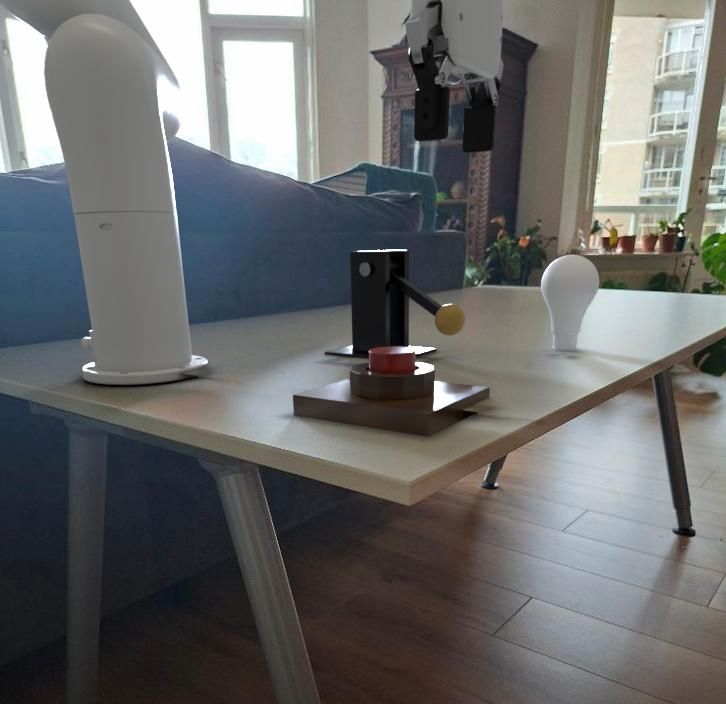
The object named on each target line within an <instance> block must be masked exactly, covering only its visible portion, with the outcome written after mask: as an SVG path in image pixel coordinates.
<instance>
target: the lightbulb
mask: <svg viewBox="0 0 726 704" xmlns="http://www.w3.org/2000/svg"><path fill="white" fill-rule="evenodd" d="M540 281H541V282H540V290H541V294H542V297H543V300H544V302H545V304H546V307H547V309H548V312H549V316H550V324H551V327H550V328H551V329H550V330H551V333H552V350H554V351H564V352H565V351H566V352H567V351H568V352H569V351H575V350H576V349H577V345H578V344H577V343H578V337H579V334H580V333H581V331H582V330H581V329H582V323H583V321H584V317H585V315H586V313H587V310H588V308H589V307H590V306H591V304H592V303H593V301H594V299H595V297H596V295H597V294H598V291H599V287H600V275H599V272H598V269H597V267H596V266H595V264H594V263H593V262H592V261H591V260H590V259H588V258H586V257H584V256H583V255H580V254H567V255H563V256H560V257H557V258H556V259H554V261H552V262H551V263H550V264H549V265H548V266H547V267H546V269H545V271H543V275H542V277H541V280H540Z"/></svg>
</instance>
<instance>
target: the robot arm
mask: <svg viewBox="0 0 726 704" xmlns="http://www.w3.org/2000/svg"><path fill="white" fill-rule="evenodd" d="M0 5H2V7H3V8H4V9H5V10H6V11H8V12H9V13H10V14H11V15H13V16H14V17H15V18H16V19H17V20H19V21H20V22H22V23H23V24H25V25H26V26H27V27H28V28H31V29H32V30H33V31H34V32H36V33H37V34H38V35H39V36H40V37H41V38H42V39H43V41H44V42H45V43H46V45H47V47H46V50H45V55H44V61H43V76H44V86H45V92H46V97H47V102H48V106H49V110H50V112H51V116H52V117H51V118H52V120H53V123H54V127H55V130H56V133H57V137H58V142H59V145H60V149H61V153H62V158H63V162H64V166H65V171H66V177H67V182H68V183H67V184H68V188H69V195H70V201H71V206H72V207H71V208H72V213H73V216H74V223H75V229H76V230H75V231H76V236H77V243H78V248H79V257H80V261H81V262H80V263H81V268H82V269H81V270H82V275H83V281H84V288H85V293H86V300H87V307H88V313H89V320H90V326H91V330H88V333H89V336H85V337H83V338H81V339H80V346H81V348H82V349H83V350H85V351H91V352H92V359H93V362H90V363H87V364H85V365H84V366H82V368H81V374H82V375H81V376H82V379H83V380H85V381H86V382H89V383H92V384H98V385H108V386H109V385H114V386H118V385H119V386H125V385H126V386H128V385H129V386H131V385H133V386H134V385H149V384H151V385H152V384H159V383H161V384H162V383H169V382H175V381H182V380H186V379H191V378H194V377H198V375H197V374H196V375H195V374H188V372H192V371H196V370H199V369H202V368H204V367H206V366H207V365H208V359H207V358H205V357H203V356H201V355H194V354H193V352H192V344H191V334H190V327H189V326H190V325H189V314H188V306H187V305H188V304H187V296H186V287H185V278H184V269H183V259H182V258H183V257H182V249H181V240H180V230H179V222H178V221H179V220H178V213H177V205H176V197H175V196H176V195H175V188H174V179H173V173H172V167H171V161H170V155H169V150H168V144H169V143H171V142H172V140H173V139H174V138H175V137H176V136H177V134H178V132H179V130H180V128H181V125H182V121H183V117H184V98H183V91H182V89H181V86H180V84H179V80H178V79H177V76H176V74H175V73H174V70H172V68H171V66H170V64H169V62H168V61H167V60H166V58H165V56H164V55H163V52H162V51H161V49H160V48H159V46H158V45H157V43H156V41H155V40H154V38H153V36H152V35H151V33H150V31H149V30H148V28H147V26H146V25H145V23H144V21H143V20H142V18H141V17H140V15H139V14H138V11H137V10H136V9H135V7H134V5H133V4H132V2H131V0H0ZM503 5H504V0H411V2H410V17H409V19H406V21H405V33H406V39H407V43H408V61H409V64H410V67H411V69H412V72H413V75H412V77H411V85H412V88H413V90H415V91H414V117H413V119H414V123H413V124H414V125H413V138H414V141H416V142H421V143H422V142H432V141H441V140H446V139H447V138H448V137H449V123H450V120H449V119H450V101H451V100H450V99H451V98H450V97H451V96H450V95H451V87H449V86H445V85H446V84H448V85H452V86H454V85H458V84H460V83H461V82H462V86H463V89H464V93H465V98H466V101H467V106H468V107H464V108H463V126H462V127H463V129H462V132H463V133H462V152H463V153H467V154H470V153H471V154H472V153H484V152H491V151H493V150H494V147H495V132H496V130H495V129H496V116H497V115H496V113H497V107H498V104H499V92H500V90H501V87H502V83H501V79H502V75H503V71H504V68H505V67H504V61H503V59H502V45H503V43H502V42H503V13H504V9H503V8H504V6H503ZM476 85H479V86H478V88H477V90H476V87H475V86H476Z"/></svg>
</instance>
